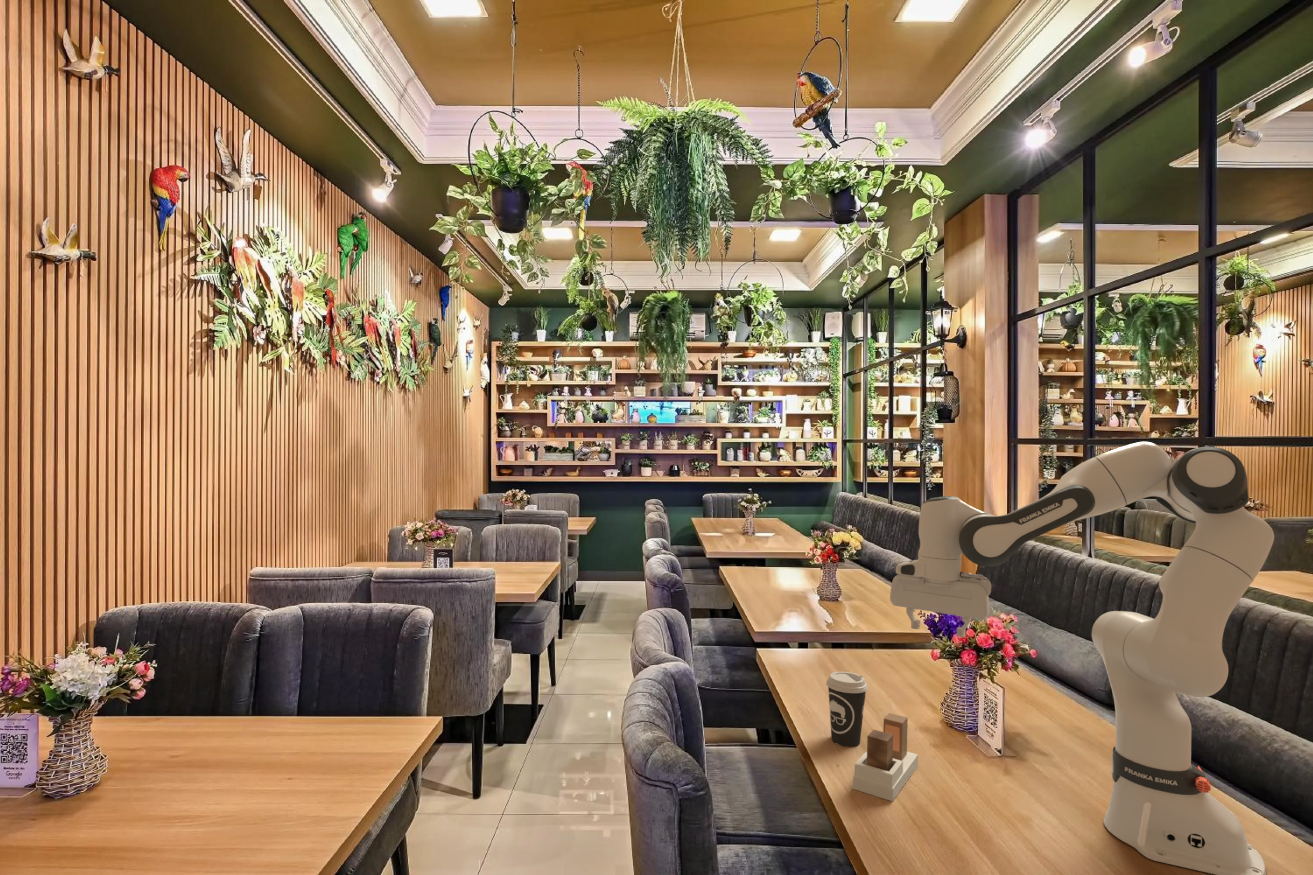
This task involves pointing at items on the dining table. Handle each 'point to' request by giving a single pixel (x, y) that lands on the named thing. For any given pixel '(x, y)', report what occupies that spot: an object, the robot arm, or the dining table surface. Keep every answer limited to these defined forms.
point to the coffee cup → (846, 707)
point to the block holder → (902, 768)
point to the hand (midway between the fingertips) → (937, 632)
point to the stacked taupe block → (880, 750)
